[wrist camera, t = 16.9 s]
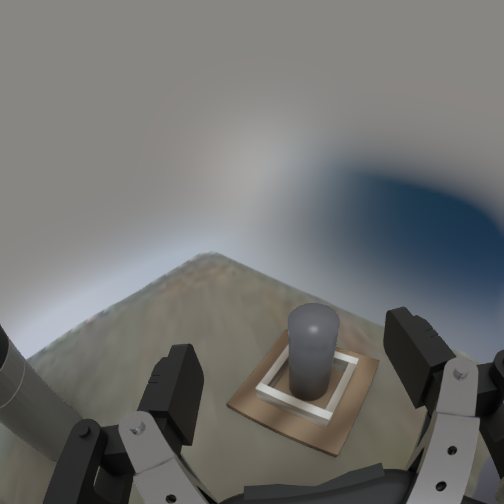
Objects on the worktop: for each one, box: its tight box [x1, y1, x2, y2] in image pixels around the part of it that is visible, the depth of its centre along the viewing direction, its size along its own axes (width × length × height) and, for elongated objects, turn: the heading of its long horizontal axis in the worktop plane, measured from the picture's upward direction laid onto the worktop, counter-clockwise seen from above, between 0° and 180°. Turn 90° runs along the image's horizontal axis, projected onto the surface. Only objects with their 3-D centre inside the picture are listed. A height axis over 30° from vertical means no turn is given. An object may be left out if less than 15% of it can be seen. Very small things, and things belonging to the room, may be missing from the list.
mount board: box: [227, 330, 379, 457], centre depth 31 cm, size 15×15×4 cm
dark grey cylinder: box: [288, 303, 339, 401], centre depth 28 cm, size 5×5×12 cm
